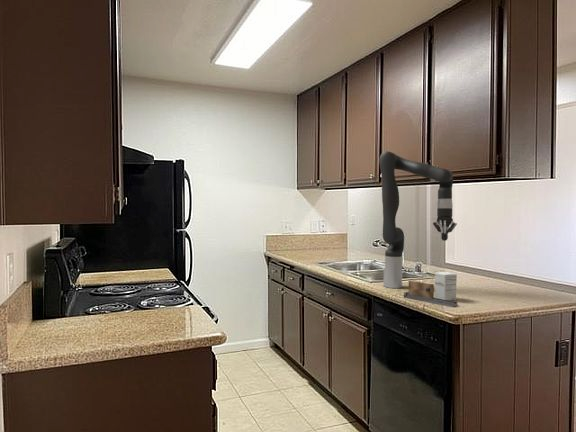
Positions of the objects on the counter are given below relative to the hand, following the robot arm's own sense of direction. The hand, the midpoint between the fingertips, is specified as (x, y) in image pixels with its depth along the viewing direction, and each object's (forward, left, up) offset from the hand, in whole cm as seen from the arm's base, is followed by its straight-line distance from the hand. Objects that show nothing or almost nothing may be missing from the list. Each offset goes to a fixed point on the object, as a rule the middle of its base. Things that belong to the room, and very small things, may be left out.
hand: (444, 240), depth 225 cm
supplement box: (+10, -16, -27) cm, 33 cm away
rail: (+8, -27, -27) cm, 39 cm away
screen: (+4, -27, -26) cm, 38 cm away
